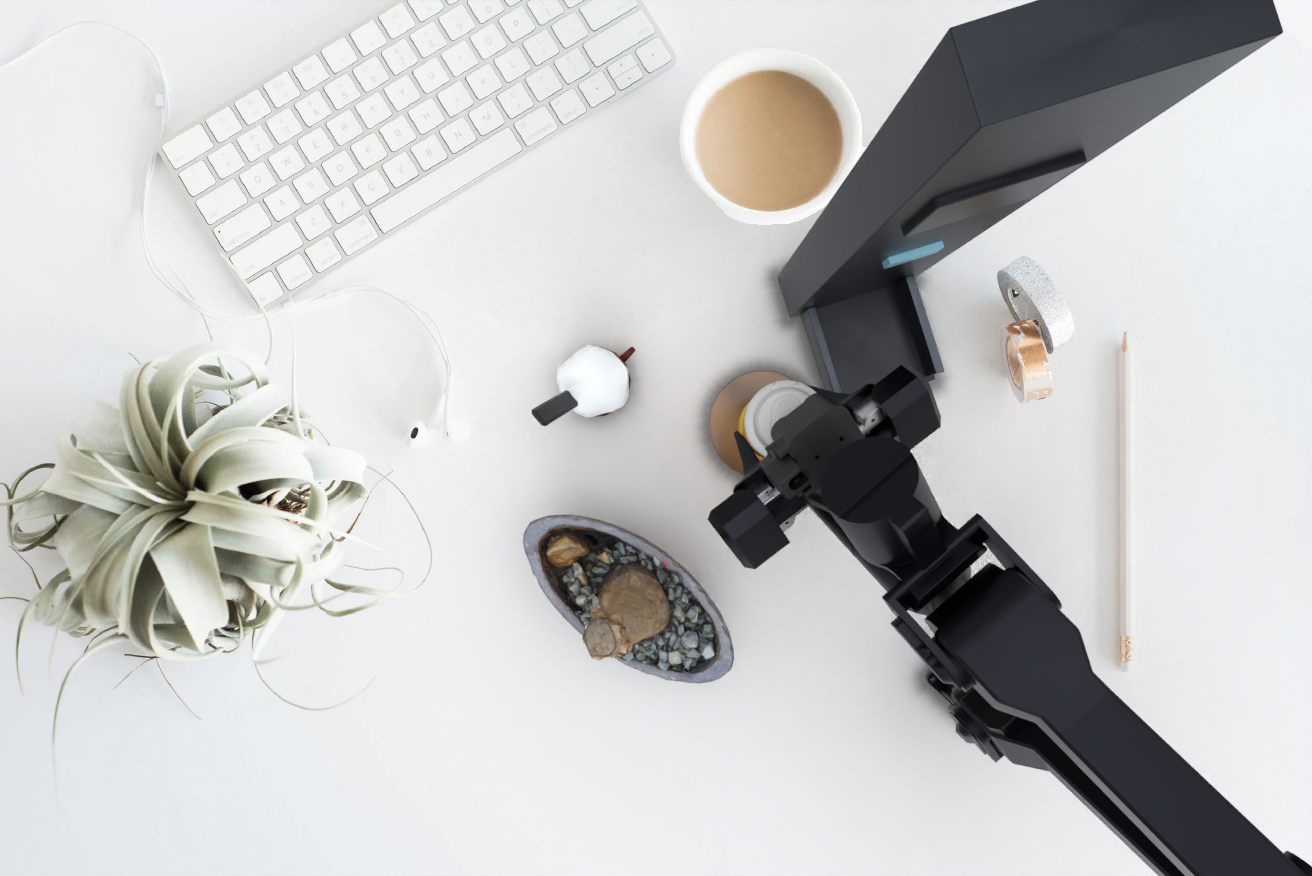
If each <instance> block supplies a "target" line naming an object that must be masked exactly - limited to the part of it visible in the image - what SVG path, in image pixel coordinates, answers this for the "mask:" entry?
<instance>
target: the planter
mask: <svg viewBox="0 0 1312 876" xmlns="http://www.w3.org/2000/svg"><path fill="white" fill-rule="evenodd" d="M522 546H523V549H524V550H523V551H524V554H525V556H526V558H527V560H528V563H529V566H530V568H531V572H532V575H533V576H534V577H535V579H536V581H537V584H538V586H539V588H540V589H541V591H542V593H543V594H544V596H545V597H546V598H547V599H548V601H549V602H550V603H551V605H552V606H553V607H554V608H555V610H556V611H557V612H558V613H559V614H560V615H561V616H562V617H563V619H564V620H565V621H567V622H568V624H569V625H570V626H571V627H572V628H574V630H576V631H577V632H578V633H579V634H580V635H581V636H582V637H581V639H582V641H583V644H584V645H585V647H586V650H587V652H588V654H589V656H590V658H591V659H593V660H596V661H601V660H603V659H605V658H611V659H615V660H617V661H619V662H620V663H622V664H624V665H625V666H627V667H630V668H632V669H634V670H637V671H639V672H641V673H644V674H646V675H651V676H655V677H658V678H660V679H663V680H665V681H673V682H680V683H686V684H706V683H711V682H714V681H717V680H720V679H722V678H723V677H724V676H725V675H726V674H728V673H730V671H731V670H732V669H733V665H734V661H735V653H734V652H735V651H734V649H735V648H734V645H733V639H732V635H731V633H730V630H729V628H728V626H727V623H726V621H725V619H724V617H723V615H722V612H721V611H720V610H719V607H717V605H716V603H715V602H714V600H713V599H712V597H710V595H709V594H708V592H707V591H706V590H705V588H704V587H703V586H702V584H700V582H699V581H698V580H697V579H696V577H694V576H693V575H692V574H691V573H690V571H688V570H687V569H686V568H685V567H684V566H683V565H682V564H681V563H679V562H678V561H677V560H676V559H675V558H673V557H672V556H671V555H670V554H668V553H667V552H666V551H664V550H663V549H662V548H660V547H659V546H657V545H656V544H654V543H653V542H651V541H649V540H647V539H646V538H645V537H643V536H641V535H639V534H637V533H634V532H631V531H630V530H627V529H625V528H622V527H620V526H618V525H615V524H612V523H611V522H607V521H604V520H600V519H597V518H593V517H588V516H584V515H576V514H551V515H546V516H542V517H538V518H537V519H534V520H531V521H530V522H529V524H528V525H527V526H526V528H525V529H524V532H523V538H522Z"/></svg>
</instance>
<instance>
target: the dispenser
mask: <svg viewBox="0 0 1312 876" xmlns="http://www.w3.org/2000/svg"><path fill="white" fill-rule="evenodd" d="M1283 33H1284V30H1283V25H1282V22H1281V20H1280V17H1279V14H1278V10H1277V7H1276V4H1275V1H1274V0H1033V1H1030V2H1026V3H1024V4H1020V5H1017V6H1015V7H1011V8H1007V9H1005V10H1002V11H998V12H995V13H992V14H989V15H985V16H982V17H979V18H975V19H972V20H969V21H966V22H963V23H960V24H956V25H954V26H950V27H949V28H948V30H947V31H946V33H945V34H944V35H943V37H942V38H941V40H940V41H939V43H938V44H937V46H936V47H935V48H934V49H933V52H931V54H930V56H929V57H928V59H927V60H926V61H925V62H924V65H922V67H921V69H920V70H919V71H918V73H917V74H916V76H915V77H914V79H913V80H912V82H911V83H910V85H909V86H908V88H907V89H906V90H905V92H904V93H903V95H902V96H901V98H900V99H899V100H898V102H897V104H896V105H895V106H894V108H893V109H892V110H891V112H890V113H889V115H888V116H887V118H886V119H885V120H884V122H883V124H882V125H881V126H880V128H879V129H878V131H877V132H876V134H875V135H874V136H873V138H872V139H871V141H870V142H869V143H868V146H866V148H865V149H864V151H863V152H862V154H861V156H860V157H859V158H858V159H857V161H856V163H855V164H854V165H853V166H852V168H851V169H850V172H848V174H847V176H846V177H845V178H844V180H843V181H842V183H841V184H840V186H839V187H838V189H837V190H836V191H835V193H834V194H833V195H832V197H831V198H830V200H829V201H828V203H827V205H826V206H825V208H823V210H822V211H821V213H820V215H819V216H818V217H817V219H816V220H815V222H814V223H813V224H812V226H811V227H810V229H809V230H808V231H807V233H806V235H805V236H804V238H803V239H802V240H801V242H800V243H799V245H797V246H798V247H797V248H796V249H795V250H794V252H793V254H792V255H791V256H790V258H789V259H788V261H786V263H785V265H784V266H783V268H782V269H781V271H780V272H779V274H778V275H777V276H776V279H777V282H778V285H779V288H780V291H781V294H782V298H783V300H784V304H785V306H786V307H785V308H786V310H787V313H788V316H789V318H794V317H797V316H800V319H801V321H802V325H803V328H804V331H805V335H806V337H807V340H808V344H809V347H810V350H811V353H812V356H813V359H814V363H815V366H816V370H817V372H818V375H819V379H820V382H821V384H822V389H825V390H828V391H832V392H837V393H843V394H852V393H854V392H856V391H858V390H859V389H861V388H862V387H864V386H865V385H866V384H870V383H871V384H877V383H878V382H879V381H881V380H882V379H883V378H884V377H886V376H887V375H888V374H890V373H891V372H892V371H894V370H895V369H896V368H897V367H899V366H900V365H910V366H911V367H912V368H914V369H915V370H916V371H918V372H919V373H920V374H922V375H923V376H924V377H925V379H926V380H927V381H928V383H930V382H931V381H934V380H935V381H936V376H935V375H937V374H941V373H943V372H945V368H944V364H943V362H942V358H941V355H940V352H939V349H938V346H937V342H936V340H935V337H934V333H933V331H932V327H931V324H930V320H929V317H928V314H927V312H926V308H925V305H924V302H923V299H922V295H921V292H920V289H919V286H918V283H917V280H916V278H917V277H918V276H920V275H921V274H923V273H924V272H925V271H927V270H929V269H930V268H932V267H933V266H935V265H936V264H938V263H939V262H941V261H943V260H944V259H945V258H947V257H948V256H950V255H951V254H953V253H954V252H956V251H957V250H958V249H960V248H962V247H963V246H965V245H966V244H968V243H970V242H971V241H972V240H973V239H976V238H977V237H979V236H980V235H982V234H983V233H985V232H986V231H988V230H989V229H991V228H992V227H993V226H995V225H996V224H998V223H1000V222H1001V221H1003V220H1004V219H1005V218H1007V217H1009V216H1010V215H1012V214H1013V213H1014V212H1016V211H1018V210H1019V209H1020V208H1023V206H1025V205H1026V204H1028V203H1030V202H1031V201H1032V200H1034V199H1036V198H1037V197H1038V196H1040V195H1041V194H1043V193H1044V192H1046V191H1048V190H1049V189H1051V188H1053V186H1055V185H1057V184H1058V183H1060V182H1061V181H1063V180H1064V179H1065V178H1067V177H1068V176H1069V175H1072V174H1073V173H1075V172H1076V171H1078V170H1079V169H1081V168H1082V167H1084V166H1086V164H1088V163H1090V162H1091V161H1093V160H1094V159H1095V158H1097V157H1098V156H1100V155H1102V154H1103V153H1105V152H1106V151H1108V150H1109V149H1111V148H1113V146H1116V144H1118V143H1120V142H1121V141H1123V140H1124V139H1126V138H1127V137H1129V136H1130V135H1132V134H1133V133H1135V132H1136V131H1138V130H1139V129H1141V128H1142V127H1144V126H1145V125H1147V124H1148V123H1150V122H1151V121H1152V120H1154V119H1156V118H1158V117H1159V116H1161V115H1162V114H1164V113H1165V112H1167V111H1168V110H1169V109H1171V108H1172V107H1173V106H1175V105H1177V104H1178V103H1180V102H1181V101H1183V100H1184V99H1186V98H1188V97H1189V96H1190V95H1192V94H1194V93H1195V92H1196V91H1198V90H1200V89H1201V88H1203V87H1205V85H1207V84H1208V83H1210V82H1211V81H1213V80H1215V79H1216V78H1217V77H1219V76H1221V75H1222V74H1224V73H1225V72H1226V71H1228V70H1230V69H1231V68H1233V67H1234V66H1236V65H1237V64H1238V63H1240V62H1241V61H1243V60H1245V59H1246V58H1248V57H1249V56H1250V55H1252V54H1253V53H1255V52H1256V51H1258V50H1259V49H1261V48H1263V47H1264V46H1266V45H1268V44H1270V42H1271V41H1273V40H1275V39H1277V38H1278V37H1279V36H1281V35H1282V34H1283Z"/></svg>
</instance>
